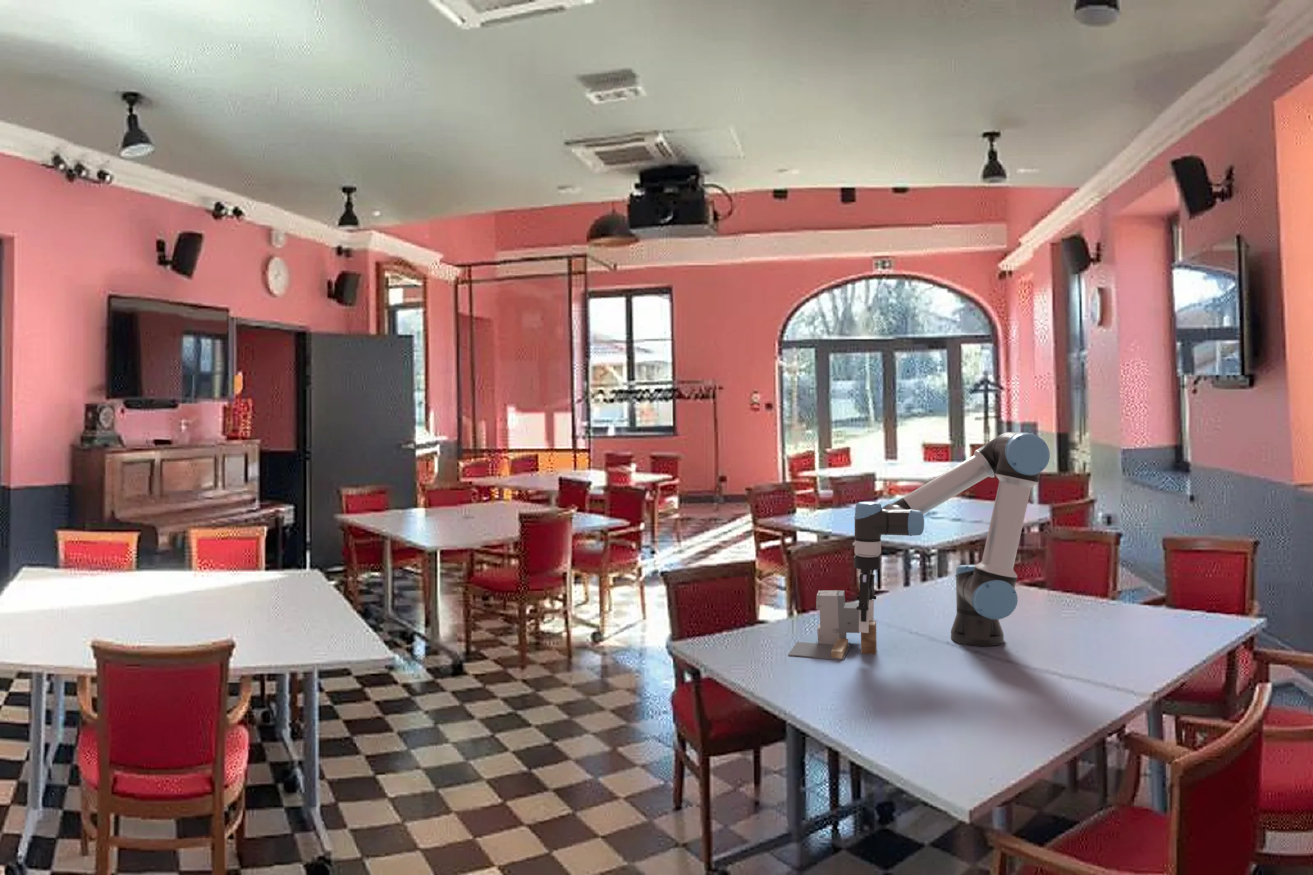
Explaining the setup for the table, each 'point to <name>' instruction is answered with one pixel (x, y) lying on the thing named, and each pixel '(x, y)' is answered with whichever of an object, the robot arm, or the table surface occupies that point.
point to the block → (869, 640)
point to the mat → (814, 650)
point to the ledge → (839, 648)
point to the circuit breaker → (835, 616)
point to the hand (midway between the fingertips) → (866, 626)
